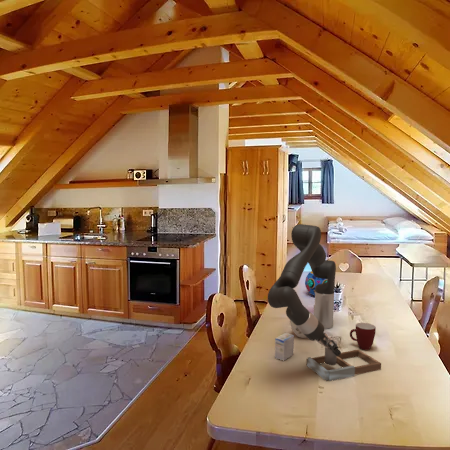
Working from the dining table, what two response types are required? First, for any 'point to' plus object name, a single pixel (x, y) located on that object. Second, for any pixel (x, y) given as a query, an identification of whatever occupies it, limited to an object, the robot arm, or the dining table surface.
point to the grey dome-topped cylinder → (330, 356)
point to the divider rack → (343, 365)
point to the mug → (364, 335)
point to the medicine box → (284, 346)
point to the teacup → (297, 330)
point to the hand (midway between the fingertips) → (334, 351)
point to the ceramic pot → (313, 282)
